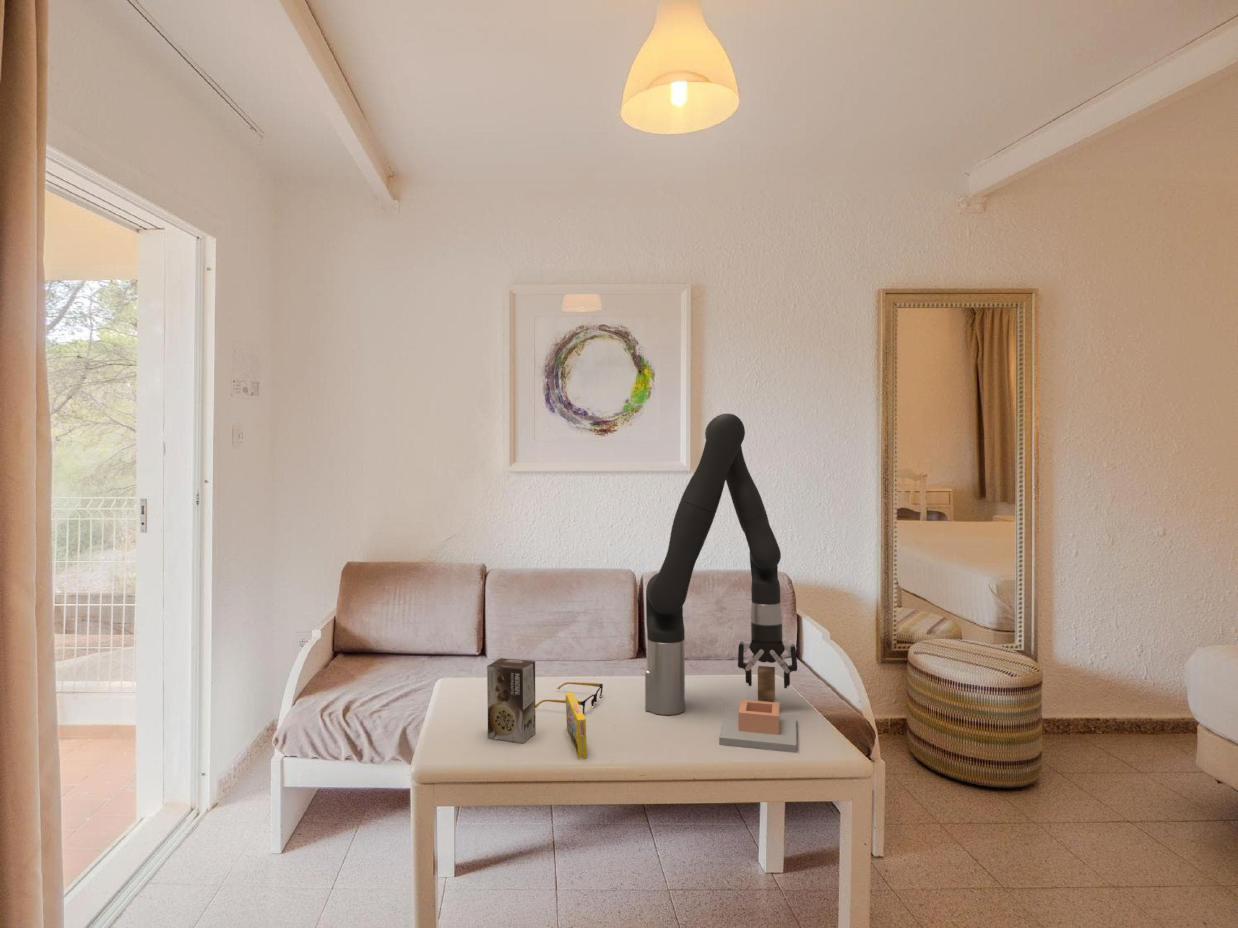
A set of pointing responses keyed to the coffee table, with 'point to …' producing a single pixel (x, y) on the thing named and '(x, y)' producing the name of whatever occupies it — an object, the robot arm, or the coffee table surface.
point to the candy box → (576, 725)
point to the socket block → (759, 727)
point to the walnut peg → (766, 683)
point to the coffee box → (511, 699)
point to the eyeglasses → (578, 701)
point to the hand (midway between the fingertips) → (767, 686)
